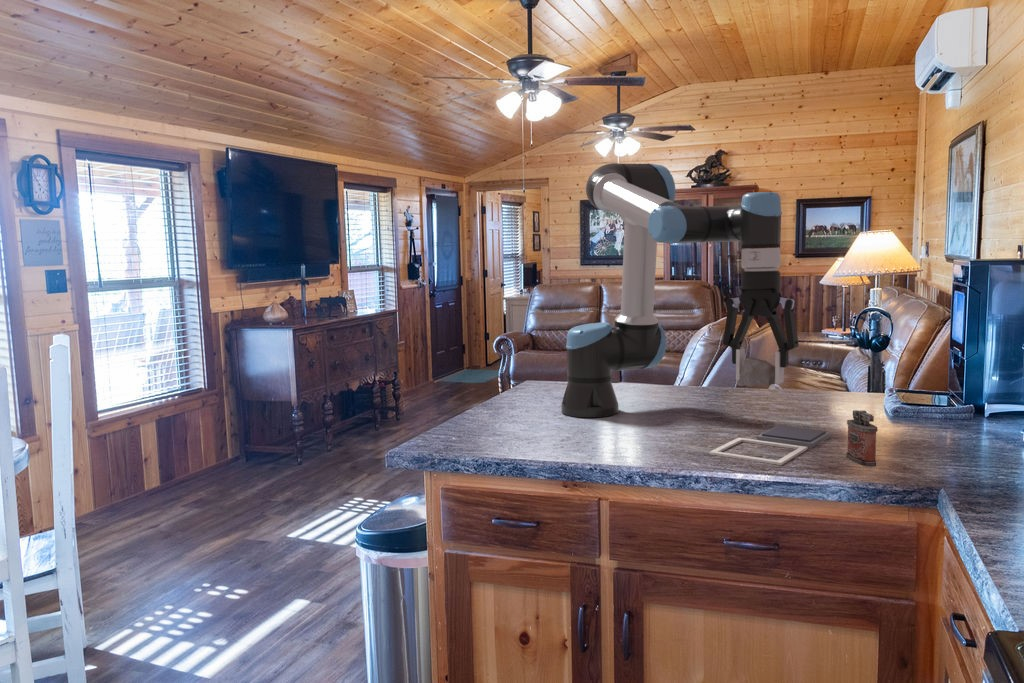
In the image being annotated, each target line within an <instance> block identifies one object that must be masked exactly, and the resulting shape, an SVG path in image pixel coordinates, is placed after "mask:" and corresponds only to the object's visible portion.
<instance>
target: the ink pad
mask: <svg viewBox="0 0 1024 683" xmlns="http://www.w3.org/2000/svg"><path fill="white" fill-rule="evenodd" d="M829 438H831V432H830V431H826V430H821V429H814V428H813V429H812V428H804V427H795V426H788V425H781V424H780V425H776V426H774V427H771V429H767V430H766V431H765V432H762V433H760V434H758V435H757V436H756V440H760V441H768V442H775V443H782V444H790V445H797V446H805V447H808V449H809V448H810V449H813V448H815V447H817V446H818V445H820V444H822V443H823V442H824V441H826V440H828V439H829Z"/></svg>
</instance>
